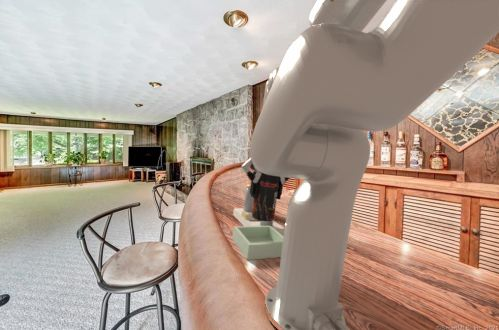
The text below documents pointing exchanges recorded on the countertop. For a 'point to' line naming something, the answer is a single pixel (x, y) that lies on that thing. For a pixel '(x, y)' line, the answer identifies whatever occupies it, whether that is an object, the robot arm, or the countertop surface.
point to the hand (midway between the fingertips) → (265, 197)
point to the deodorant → (266, 198)
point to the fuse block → (246, 214)
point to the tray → (258, 241)
